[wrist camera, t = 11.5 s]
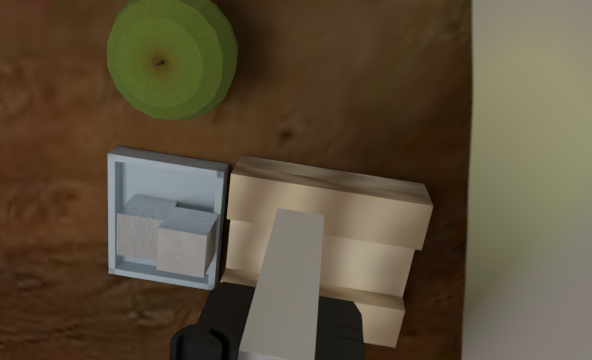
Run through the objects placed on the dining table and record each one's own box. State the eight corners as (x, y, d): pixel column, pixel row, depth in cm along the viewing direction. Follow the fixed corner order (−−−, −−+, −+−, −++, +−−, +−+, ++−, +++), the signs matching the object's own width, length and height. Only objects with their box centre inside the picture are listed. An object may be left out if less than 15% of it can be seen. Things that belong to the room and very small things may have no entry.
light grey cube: (172, 246, 45) (156, 269, 41) (174, 206, 44) (158, 227, 40) (215, 253, 45) (203, 277, 41) (218, 214, 43) (206, 235, 40)
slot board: (227, 288, 49) (217, 317, 45) (241, 155, 43) (230, 173, 39) (390, 315, 48) (395, 347, 44) (424, 184, 43) (433, 206, 39)
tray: (117, 262, 49) (108, 273, 47) (117, 146, 44) (107, 153, 42) (218, 278, 48) (213, 290, 47) (229, 164, 44) (224, 172, 42)
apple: (204, -40, 38) (151, -47, 27) (277, 48, 40) (254, 74, 29) (129, 36, 40) (53, 57, 30) (201, 115, 42) (154, 161, 32)
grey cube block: (176, 239, 47) (134, 232, 47) (178, 200, 45) (135, 193, 45) (162, 261, 43) (116, 254, 43) (164, 220, 41) (116, 213, 41)
